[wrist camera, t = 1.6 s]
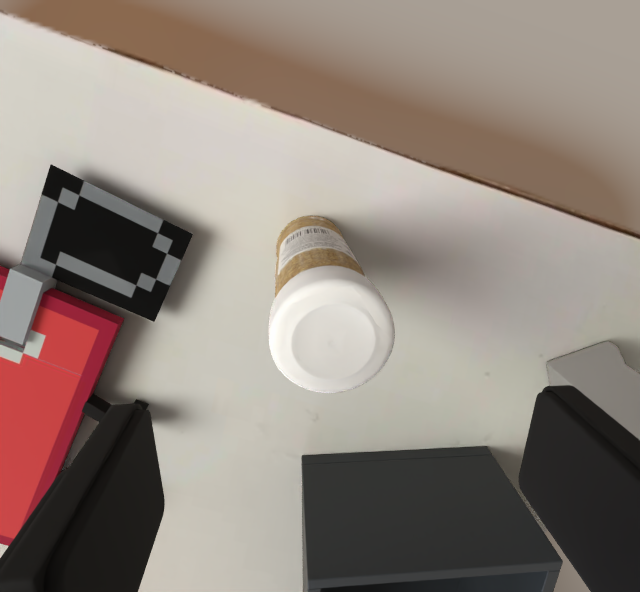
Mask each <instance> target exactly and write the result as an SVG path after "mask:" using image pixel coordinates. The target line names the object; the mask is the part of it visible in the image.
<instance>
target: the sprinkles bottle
mask: <svg viewBox="0 0 640 592" xmlns="http://www.w3.org/2000/svg"><path fill="white" fill-rule="evenodd" d="M276 254H277V258H278V259H277V262H276V269H275V284H276V287H275V288H276V290H275V299H274V302H273V304H272V308H271V312H270V318H269V346H270V351H271V354H272V357H273V359H274V361H275V363H276V365H277V367H278V368H279V370H280V371H281V372H282V373H283V374H284V375H285V376H286V377H287V378H288V379H289V380H290V381H292V382H293V383H295V384H296V385H298V386H300V387H302V388H305V389H307V390H310V391H314V392H320V393H337V392H343V391H347V390H351V389H354V388H356V387H358V386H360V385H362V384H364V383H366V382H367V381H369V380H370V379H371V378H373V377H374V376H375V375H376V374H377V373H378V372H379V371H380V370H381V369H382V367H383V366H384V365H385V363H386V362H387V360H388V358H389V356H390V354H391V352H392V348H393V344H394V338H395V329H394V322H393V318H392V315H391V312H390V310H389V308H388V306H387V304H386V303H385V301H384V299H383V297H382V296H381V294H380V292H379V291H378V289H377V288H376V287H375V285H374V284H373V283H372V282H371V281H370V280H369V279H367V278H366V277H365V275H364V273H363V271H362V269H361V267H360V265H359V263H358V262H357V260H356V258H355V257H354V255H353V253H352V252H351V250H350V248H349V247H348V245H347V244H346V242H345V241H344V238H343V236H342V234H341V232H340V230H339V229H338V228H337V227H336V226H335V225H334V224H333V223H332V222H330V221H329V220H327V219H325V218H322V217H319V216H306V217H300V218H297V219H296V220H294V221H292V222H290V223H289V224H288V225H287V226H286V227H285V229H284V230H282V232H281V234H280V236H279V238H278V241H277V253H276Z"/></svg>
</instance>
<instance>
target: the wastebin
mask: <svg viewBox="0 0 640 592" xmlns="http://www.w3.org/2000/svg"><path fill="white" fill-rule="evenodd" d="M302 539H303V592H553V591H554V588H555V584H556V581H557V578H558V575H559V572H560V569H561V566H562V562H563V561H562V559H561V558H560V556H559V555H558V553H557V552H556V550H555V549H554V547H553V546H552V544H551V543H550V541H549V540H548V538H547V537H546V535H545V534H544V532H543V531H542V529H541V528H540V526H539V525H538V523H537V521H536V520H535V518H534V517H533V515H532V514H531V512H530V511H529V509H528V508H527V506H526V505H525V503H524V502H523V500H522V499H521V497H520V496H519V494H518V493H517V491H516V490H515V488H514V487H513V485H512V484H511V482H510V481H509V479H508V478H507V476H506V475H505V473H504V471H503V470H502V468H501V467H500V465H499V464H498V462H497V461H496V459H495V458H494V456H493V455H492V453H491V452H490V450H489V449H488V447H487V446H484V447H465V448H445V449H425V450H405V451H385V452H366V453H346V454H326V455H306V456H302Z"/></svg>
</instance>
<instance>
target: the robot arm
mask: <svg viewBox="0 0 640 592" xmlns="http://www.w3.org/2000/svg"><path fill="white" fill-rule="evenodd" d="M519 485H520V488H521V491H522V493H523V494H524V496H525V497H526V499H527V500H528V502H529V503H530V504H531V506H532V507H533V509H534V510H535V512H536V513H537V515H538V516H539V518H540V519H541V520H542V522H543V523H544V525H545V526H546V528H547V529H548V531H549V532H550V533H551V535H552V536H553V538H554V539H555V541H556V542H557V544H558V545H559V546H560V548H561V549H562V551H563V552H564V554H565V555H566V557H567V558H568V559H569V561H570V562H571V564H572V565H573V567H574V568H575V569H576V571H577V572H578V574H579V575H580V577H581V578H582V580H583V581H584V582H585V584H586V585H587V587H588V588H589V590H590V591H591V592H640V440H639V439H638V438H637V437H635V436H634V435H633V434H632V433H631V432H629V431H628V430H627V429H626V428H624V427H623V426H622V425H621V424H620V423H618V422H617V421H616V420H615V419H613V418H612V417H611V416H610V415H609V414H607V413H606V412H605V411H604V410H603V409H601V408H600V407H599V406H598V405H596V404H595V403H594V402H593V401H592V400H590V399H589V398H588V397H587V396H585V395H584V394H583V393H582V392H581V391H579V390H578V389H577V388H575V387H574V386H571V385H561V386H547V387H545V388H544V389H543V391H542V392H541V393H539V394H538V395H537V398H536V402H535V407H534V411H533V415H532V420H531V424H530V429H529V433H528V438H527V442H526V446H525V451H524V455H523V460H522V464H521V469H520V473H519ZM163 512H164V493H163V487H162V481H161V475H160V469H159V463H158V457H157V451H156V445H155V439H154V433H153V427H152V421H151V415H150V412H149V410H142V407H141V405H140V404H118V405H112V406H111V407H110V408H109V409H108V410H107V412H106V413H105V415H104V416H103V418H102V419H101V421H100V422H99V424H98V425H97V427H96V428H95V430H94V431H93V433H92V434H91V436H90V437H89V439H88V440H87V442H86V443H85V445H84V446H83V448H82V449H81V450H80V452H79V453H78V455H77V456H76V458H75V459H74V461H73V462H72V464H71V465H70V467H69V468H67V469H65V470H63V471H62V472H61V473H60V474H59V475H58V476H57V477H56V479H55V480H54V482H53V483H52V485H51V486H50V487H49V489H48V490H47V492H46V493H45V495H44V496H43V498H42V499H41V500H40V502H39V503H38V505H37V506H36V508H35V509H34V511H33V512H32V513H31V515H30V516H29V518H28V519H27V521H26V522H25V524H24V525H23V526H22V528H21V529H20V531H19V532H18V534H17V535H16V537H15V538H14V539H13V541H12V542H11V544H10V545H9V547H8V548H7V550H6V551H5V552H4V554H3V555H2V557H1V558H0V592H138V590H139V586H140V583H141V580H142V577H143V574H144V571H145V568H146V565H147V562H148V559H149V556H150V553H151V550H152V547H153V544H154V541H155V538H156V535H157V532H158V529H159V526H160V523H161V520H162V517H163Z"/></svg>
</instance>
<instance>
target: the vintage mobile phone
mask: <svg viewBox="0 0 640 592" xmlns="http://www.w3.org/2000/svg"><path fill="white" fill-rule="evenodd" d="M546 366H547V371H548V377H549V383H550V386H561V385H571V386H574V387H575V388H577V389H578V390H579V391H581V392H582V393H583V394H584V395H585V396H587V397H588V398H589V399H590V400H592V401H593V402H594V403H595V404H596V405H598V406H599V407H600V408H601V409H603V410H604V411H605V412H606V413H607V414H609V415H610V416H611V417H612V418H613V419H615V420H616V421H617V422H618V423H620V424H621V425H622V426H623V427H624V428H626V429H627V430H628V431H629V432H631V433H632V434H633V435H634V436H635V437H637V438H638V439H639V440H640V373H638V372H637V371H635V370H634V369H632V368H631V367H629V366H628V365H626V363H625V361H624V359H623V357H622V355H621V352H620V350H619V348H618V346H616V345H614V344H613V343H611V342H610V341H606V342H602V343H599V344H596V345H593V346H590V347H587V348H585V349H582V350H579V351H576V352H573V353H570V354H568V355H565V356H562V357H559V358H556V359H553V360H551V361H548V362H547V363H546Z"/></svg>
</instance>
